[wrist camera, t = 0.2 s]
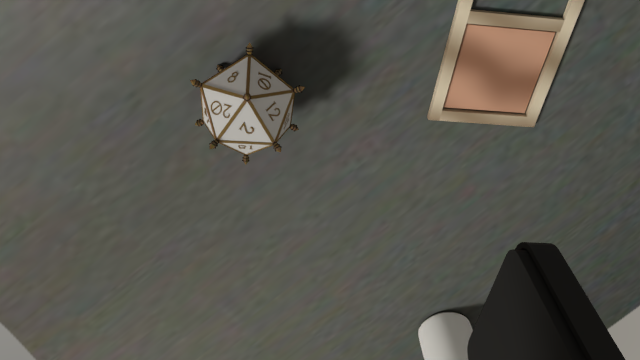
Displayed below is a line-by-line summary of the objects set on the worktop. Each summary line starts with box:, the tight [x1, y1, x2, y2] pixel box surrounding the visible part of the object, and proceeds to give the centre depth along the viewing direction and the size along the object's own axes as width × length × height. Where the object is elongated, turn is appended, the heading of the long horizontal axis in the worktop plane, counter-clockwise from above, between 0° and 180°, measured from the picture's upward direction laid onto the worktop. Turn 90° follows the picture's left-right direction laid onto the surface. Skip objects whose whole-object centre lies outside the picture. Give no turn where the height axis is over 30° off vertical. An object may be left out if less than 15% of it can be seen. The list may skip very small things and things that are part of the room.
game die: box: [190, 43, 305, 164], centre depth 44 cm, size 9×8×10 cm
